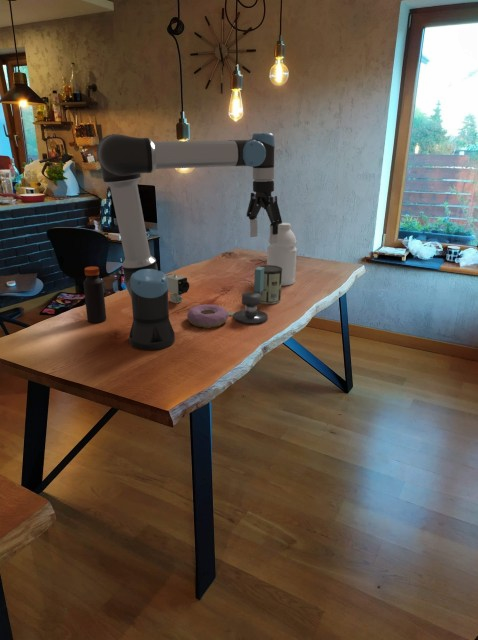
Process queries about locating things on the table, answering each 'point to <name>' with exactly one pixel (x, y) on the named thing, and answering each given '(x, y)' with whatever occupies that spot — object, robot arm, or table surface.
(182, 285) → the security camera
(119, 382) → the table surface
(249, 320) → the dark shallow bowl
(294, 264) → the bottle
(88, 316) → the bottle
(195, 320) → the donut
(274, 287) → the coffee can
